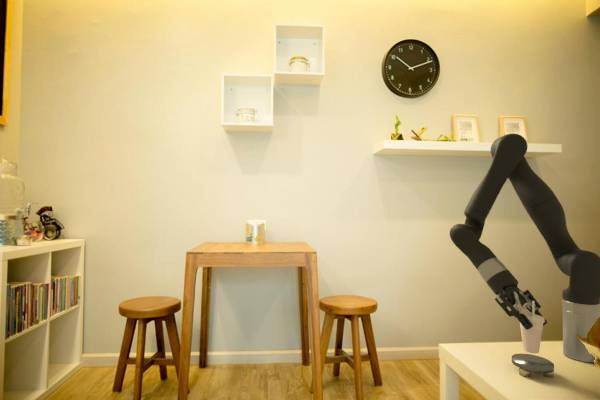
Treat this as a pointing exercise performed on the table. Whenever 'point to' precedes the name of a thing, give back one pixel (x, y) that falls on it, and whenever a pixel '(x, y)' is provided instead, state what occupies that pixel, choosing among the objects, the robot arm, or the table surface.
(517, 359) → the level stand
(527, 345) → the smoothie
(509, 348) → the table surface
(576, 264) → the robot arm
